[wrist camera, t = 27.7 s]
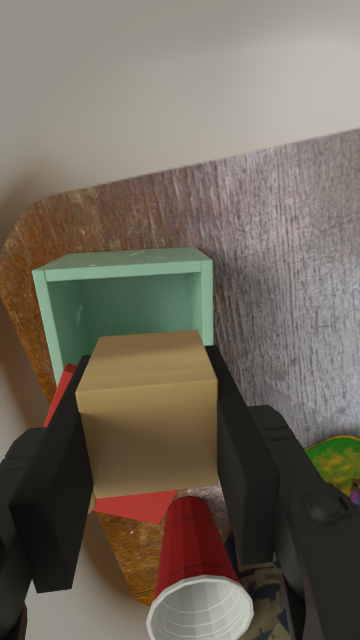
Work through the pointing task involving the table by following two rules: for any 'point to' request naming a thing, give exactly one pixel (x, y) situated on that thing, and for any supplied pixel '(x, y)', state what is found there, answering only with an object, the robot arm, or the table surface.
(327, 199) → the table surface
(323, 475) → the figurine
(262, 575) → the canister
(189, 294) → the tin
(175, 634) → the plastic cup
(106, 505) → the lid
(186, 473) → the block
